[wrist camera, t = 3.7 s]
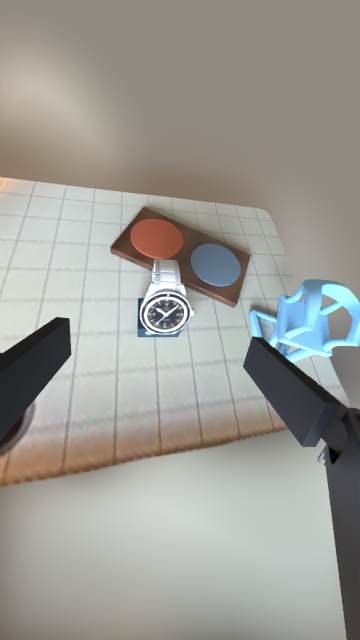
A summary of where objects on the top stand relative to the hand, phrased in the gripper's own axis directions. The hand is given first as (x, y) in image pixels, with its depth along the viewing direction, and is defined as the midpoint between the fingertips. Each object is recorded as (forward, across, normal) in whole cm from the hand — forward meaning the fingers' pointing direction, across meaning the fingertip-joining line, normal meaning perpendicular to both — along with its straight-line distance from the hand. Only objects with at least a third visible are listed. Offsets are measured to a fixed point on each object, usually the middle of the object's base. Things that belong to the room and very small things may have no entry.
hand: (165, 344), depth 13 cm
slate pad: (+20, +9, +6) cm, 23 cm away
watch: (+13, 0, -4) cm, 14 cm away
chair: (+12, +18, -4) cm, 22 cm away
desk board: (+22, +4, +6) cm, 23 cm away
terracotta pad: (+23, -2, +8) cm, 24 cm away
